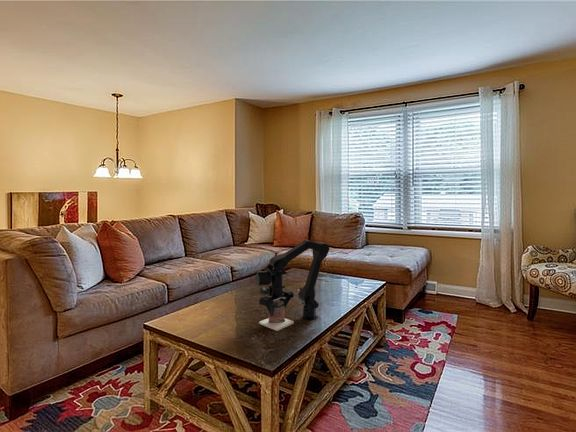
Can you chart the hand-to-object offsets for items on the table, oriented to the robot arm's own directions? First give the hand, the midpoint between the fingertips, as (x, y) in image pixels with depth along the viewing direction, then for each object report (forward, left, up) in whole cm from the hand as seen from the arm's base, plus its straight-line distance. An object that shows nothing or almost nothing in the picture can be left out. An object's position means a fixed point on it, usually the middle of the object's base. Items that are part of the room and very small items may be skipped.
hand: (276, 314), depth 168 cm
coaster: (0, 0, -5) cm, 5 cm away
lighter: (0, 0, -4) cm, 4 cm away
